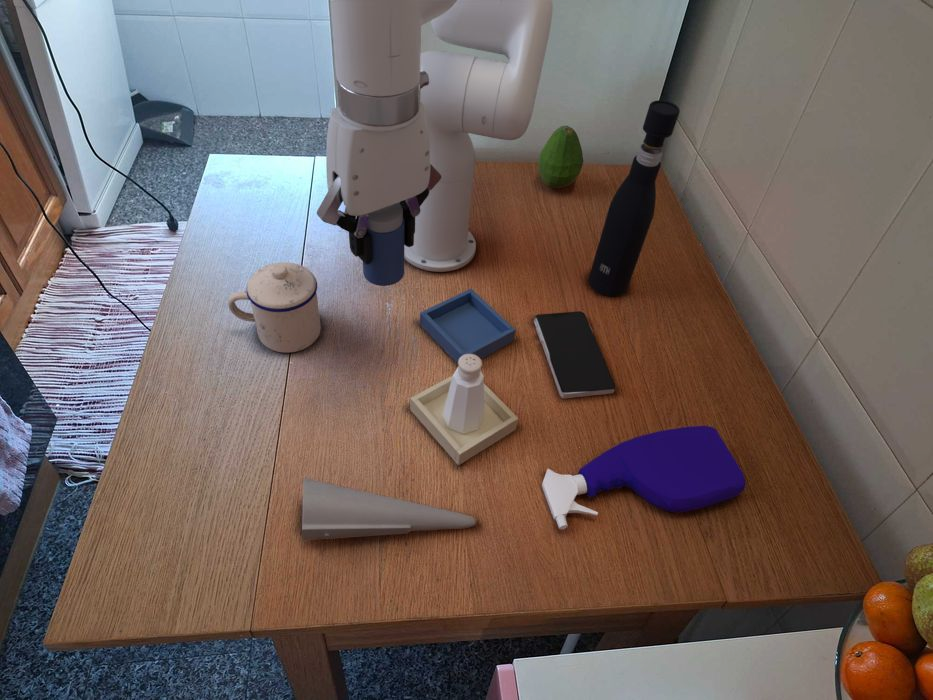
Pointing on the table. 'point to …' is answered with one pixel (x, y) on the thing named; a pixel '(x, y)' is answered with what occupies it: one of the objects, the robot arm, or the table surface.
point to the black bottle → (632, 207)
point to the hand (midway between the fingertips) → (383, 247)
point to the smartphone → (573, 355)
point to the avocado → (561, 158)
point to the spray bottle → (654, 473)
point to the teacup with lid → (282, 306)
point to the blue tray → (467, 326)
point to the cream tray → (456, 444)
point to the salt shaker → (465, 396)
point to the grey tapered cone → (368, 514)
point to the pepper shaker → (386, 246)
